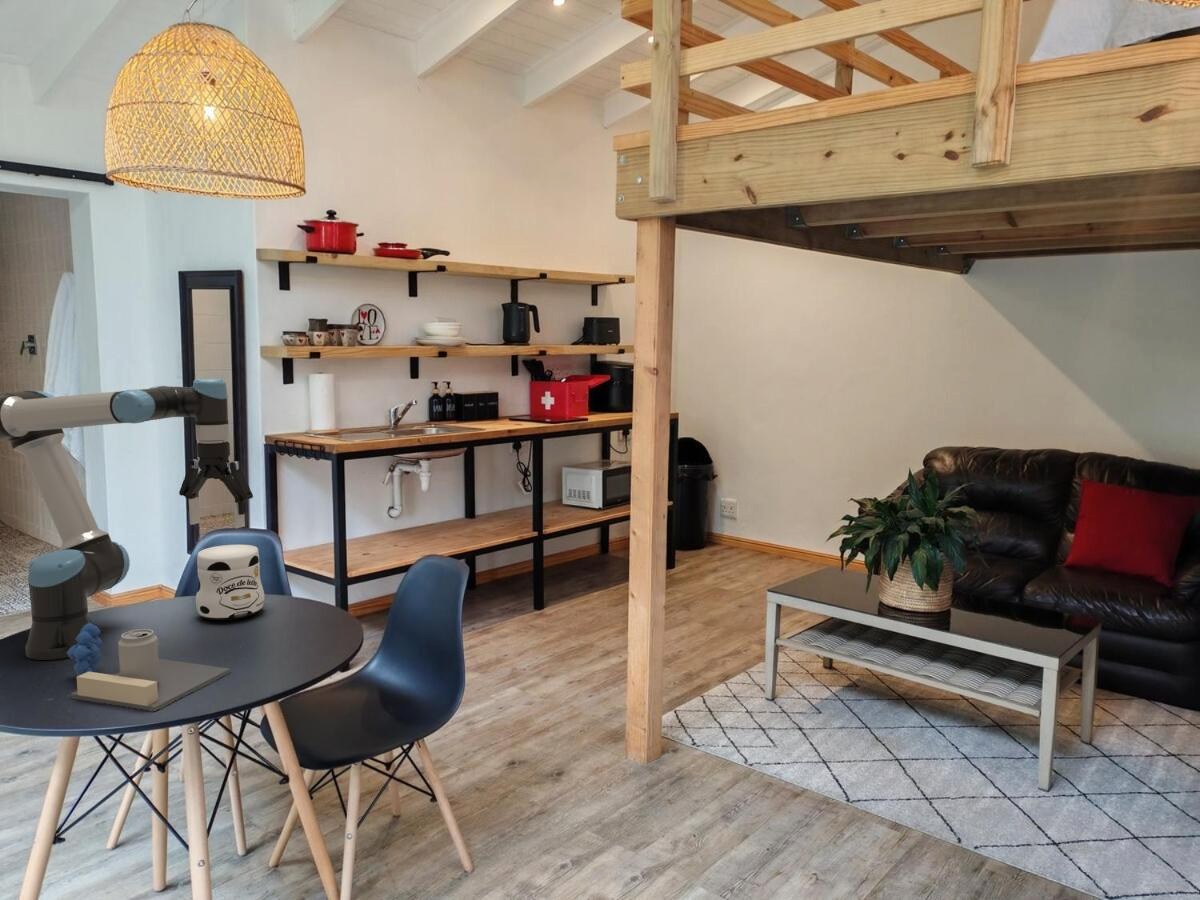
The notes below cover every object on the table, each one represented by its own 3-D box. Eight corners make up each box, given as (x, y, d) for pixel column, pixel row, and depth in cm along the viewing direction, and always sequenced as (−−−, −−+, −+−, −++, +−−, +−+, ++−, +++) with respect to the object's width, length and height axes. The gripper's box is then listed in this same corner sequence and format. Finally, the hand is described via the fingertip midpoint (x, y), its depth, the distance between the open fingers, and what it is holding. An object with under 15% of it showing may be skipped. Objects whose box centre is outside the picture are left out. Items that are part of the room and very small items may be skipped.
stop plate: (70, 698, 185) (69, 675, 184) (152, 662, 206) (151, 641, 205) (154, 711, 179) (153, 688, 178) (230, 672, 199) (229, 651, 199)
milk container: (240, 627, 231) (237, 560, 229) (182, 622, 235) (178, 556, 232) (277, 607, 248) (274, 545, 246) (222, 603, 251) (219, 542, 249)
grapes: (78, 668, 202) (74, 618, 200) (110, 666, 203) (107, 616, 202) (58, 688, 190) (54, 634, 189) (92, 686, 192) (88, 632, 190)
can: (149, 693, 185) (145, 638, 184) (113, 693, 185) (110, 638, 184) (166, 680, 193) (163, 627, 191) (132, 679, 193) (129, 626, 191)
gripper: (265, 441, 218) (269, 525, 220) (183, 437, 225) (187, 519, 228) (244, 444, 211) (248, 531, 213) (160, 440, 218) (165, 525, 221)
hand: (217, 525), depth 220 cm, fingers open, 13 cm apart
